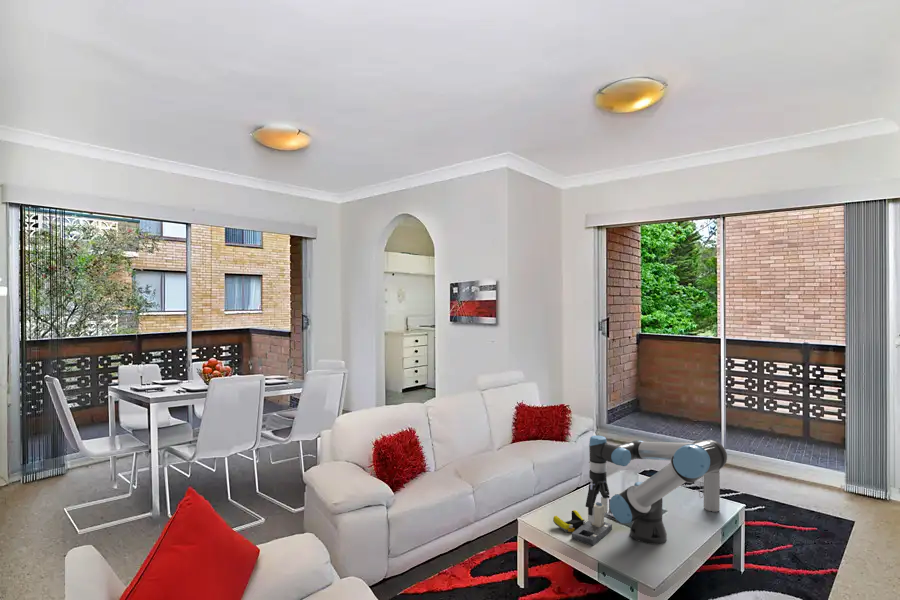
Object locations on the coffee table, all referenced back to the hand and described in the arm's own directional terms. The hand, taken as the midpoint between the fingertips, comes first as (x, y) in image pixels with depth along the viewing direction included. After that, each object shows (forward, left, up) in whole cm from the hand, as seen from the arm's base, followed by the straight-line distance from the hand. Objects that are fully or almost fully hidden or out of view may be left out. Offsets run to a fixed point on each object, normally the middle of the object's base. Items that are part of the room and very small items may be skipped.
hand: (597, 516), depth 239 cm
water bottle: (-33, -57, -6) cm, 66 cm away
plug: (0, 0, -6) cm, 6 cm away
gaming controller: (+11, +6, -6) cm, 14 cm away
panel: (0, +6, -6) cm, 8 cm away
